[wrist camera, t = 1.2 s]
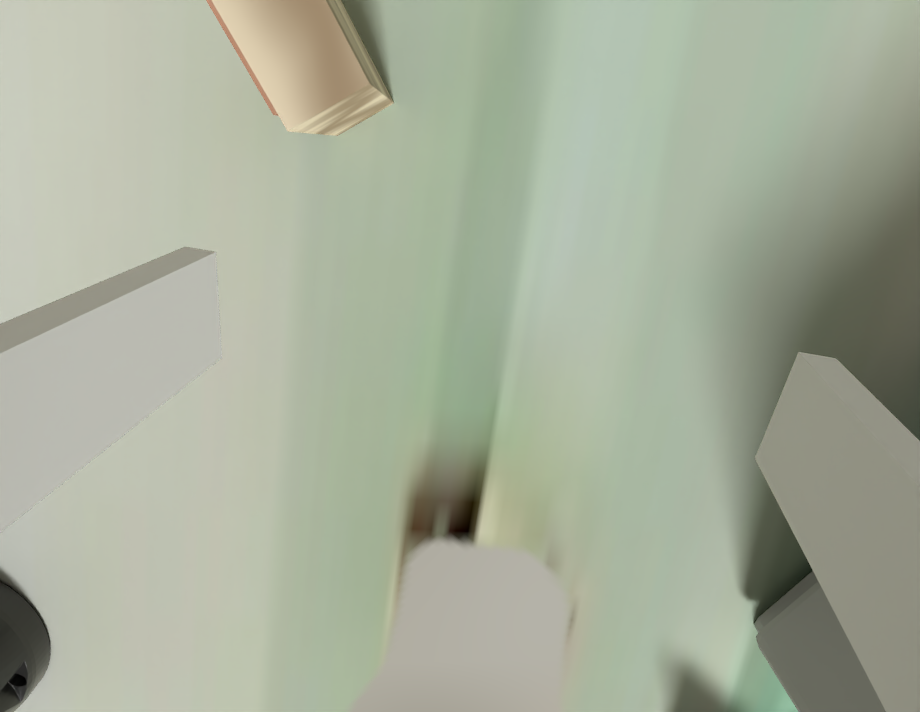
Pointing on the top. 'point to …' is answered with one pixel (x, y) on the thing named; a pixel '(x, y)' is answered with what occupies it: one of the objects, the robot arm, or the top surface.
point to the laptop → (814, 653)
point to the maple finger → (305, 61)
